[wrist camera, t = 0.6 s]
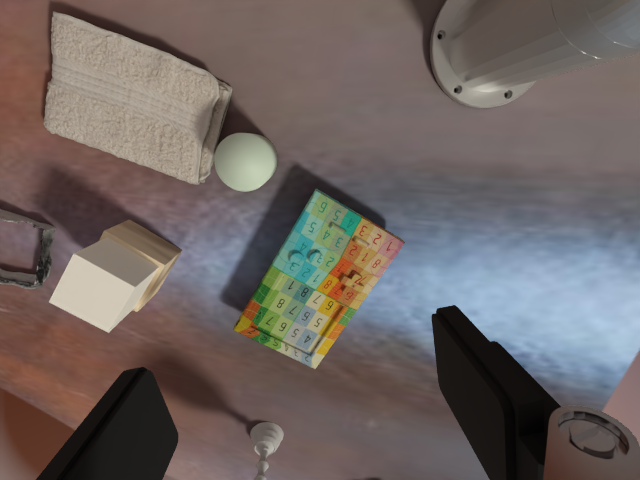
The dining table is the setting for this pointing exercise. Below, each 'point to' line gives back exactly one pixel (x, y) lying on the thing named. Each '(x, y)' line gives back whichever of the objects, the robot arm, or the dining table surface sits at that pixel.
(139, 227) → the oak base block
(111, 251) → the cream middle block
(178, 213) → the dining table surface
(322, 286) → the puzzle game
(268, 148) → the sage round block
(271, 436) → the chalice
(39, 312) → the dining table surface
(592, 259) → the dining table surface
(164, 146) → the washcloth
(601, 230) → the dining table surface
